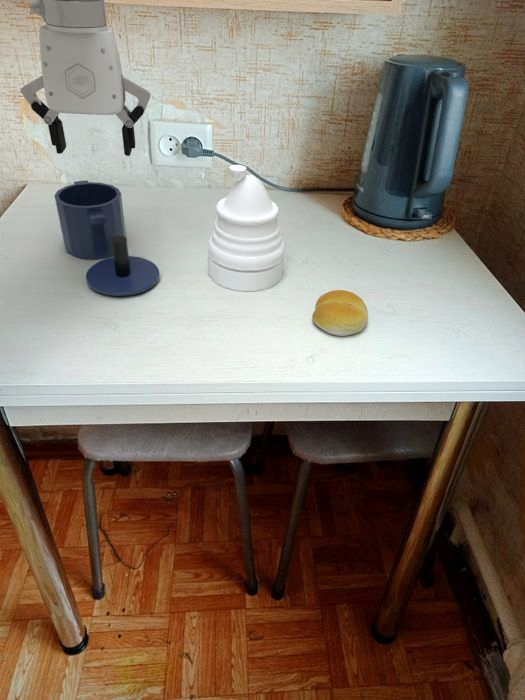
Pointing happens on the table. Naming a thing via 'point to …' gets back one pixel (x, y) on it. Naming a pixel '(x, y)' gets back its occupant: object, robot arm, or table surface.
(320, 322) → the bread roll
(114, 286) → the lid
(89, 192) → the pot
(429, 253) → the table surface
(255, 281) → the honey pot
